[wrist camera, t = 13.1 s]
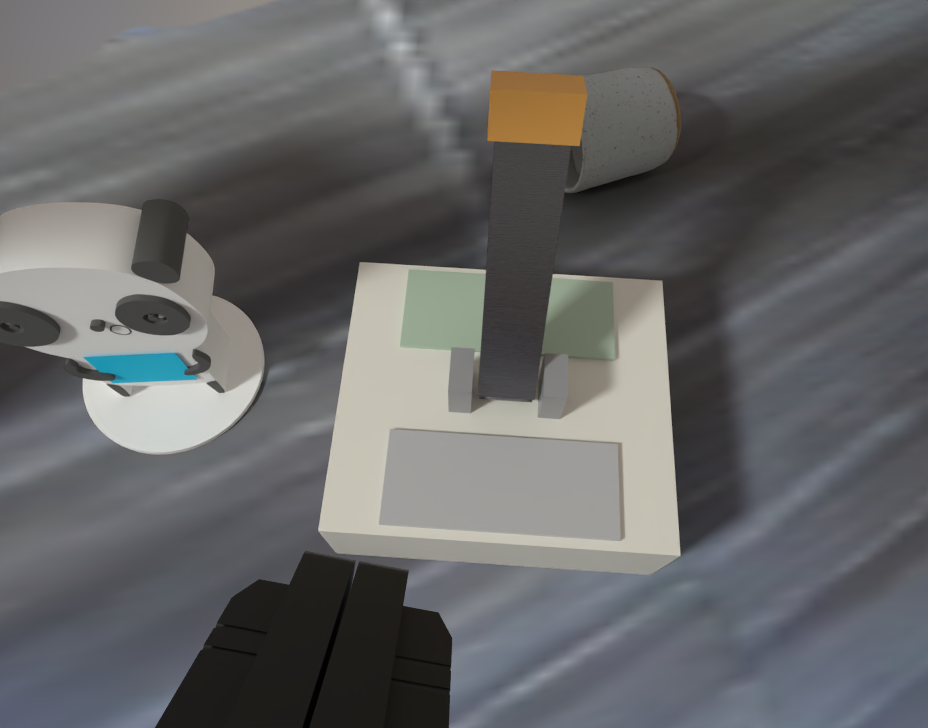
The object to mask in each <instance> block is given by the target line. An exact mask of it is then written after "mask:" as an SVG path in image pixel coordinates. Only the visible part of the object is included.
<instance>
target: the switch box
mask: <svg viewBox="0 0 928 728" xmlns="http://www.w3.org/2000/svg"><path fill="white" fill-rule="evenodd" d="M485 276H486V270H480V269H464V268H448V267H432V266H416V265H399V264H383V263H367V262H360V264H359V271H358V277H357V284H356V290H355V296H354V303H353V309H352V316H351V322H350V329H349V335H348V342H347V348H346V355H345V361H344V368H343V374H342V381H341V387H340V393H339V400H338V406H337V413H336V419H335V426H334V432H333V439H332V445H331V452H330V458H329V465H328V471H327V477H326V484H325V490H324V497H323V503H322V510H321V516H320V523H319V529H318V531H319V532H320V534H321V535H322V536H323V537H324V539H325V540H326V541H327V542H328V543H329V545H330V546H331V547H332V548H333V550H334V551H335V552H336V553H339V554H353V555H368V556H382V557H397V558H411V559H425V560H440V561H454V562H469V563H483V564H498V565H512V566H526V567H541V568H555V569H570V570H584V571H599V572H613V573H627V574H642V575H651V574H652V573H654V572H656V571H657V570H659V569H660V568H662V567H664V566H665V565H667V564H668V563H670V562H672V561H673V560H675V559H676V558H678V557H679V556H681V555H680V540H679V525H678V510H677V495H676V480H675V465H674V450H673V435H672V420H671V405H670V390H669V375H668V359H667V344H666V329H665V314H664V299H663V284H662V281H658V280H642V279H626V278H610V277H594V276H577V275H561V274H553V276H552V283H551V290H550V297H549V304H548V311H547V318H546V325H545V332H544V339H543V346H542V353H541V360H540V367H539V374H538V381H537V388H536V395H535V400H532V403H530V402H515V401H500V400H484V399H479V396H478V380H479V365H480V350H481V335H482V320H483V306H484V291H485Z"/></svg>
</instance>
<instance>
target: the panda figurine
mask: <svg viewBox="0 0 928 728" xmlns="http://www.w3.org/2000/svg"><path fill="white" fill-rule="evenodd" d="M188 221H189V217H188V215H187V213H186V212H185V210H184V209H183V208H182V207H181V206H179V205H178V204H176V203H174V202H172V201H168V200H149V201H146V202H145V203H144V204H143V207H142V210H139V209H136V208H131V207H127V206H121V205H114V204H104V203H83V202H62V203H47V204H38V205H32V206H26V207H21V208H17V209H13V210H10V211H8V212H5V213H4V214H2V215H1V216H0V343H3V344H6V345H11V346H23V347H27V348H30V349H33V350H36V351H40V352H43V353H47V354H51V355H56V356H60V357H65V358H67V359H66V361H65V366H64V369H65V370H66V372H68V373H69V374H71V375H74V376H77V377H80V378H83V396H84V401H85V404H86V408H87V410H88V413H89V415H90V417H91V418H92V420H93V422H94V423H95V424H96V426H97V427H98V428H99V429H100V430H101V431H102V432H103V433H104V434H105V435H106V436H108V437H109V438H110V439H112V440H113V441H114V442H116V443H118V444H120V445H121V446H123V447H126V448H128V449H131V450H134V451H137V452H142V453H148V454H172V453H178V452H184V451H187V450H191V449H194V448H197V447H199V446H202V445H204V444H206V443H208V442H210V441H212V440H214V439H216V438H217V437H219V436H220V435H222V434H223V433H225V432H226V431H227V430H228V429H230V428H231V427H232V426H233V425H234V424H235V423H236V422H237V421H238V420H239V419H240V418H241V417H242V416H243V415H244V414H245V412H246V411H247V410H248V408H249V407H250V405H251V404H252V402H253V400H254V399H255V397H256V395H257V393H258V390H259V388H260V385H261V382H262V378H263V374H264V365H265V357H264V349H263V344H262V341H261V338H260V336H259V334H258V331H257V329H256V328H255V326H254V324H253V323H252V321H251V320H250V319H249V318H248V316H247V315H246V314H245V313H244V312H243V311H241V310H240V309H239V308H238V307H236V306H235V305H233V304H232V303H230V302H228V301H226V300H224V299H222V298H219V297H216V296H213V295H212V293H213V285H214V277H215V268H214V264H213V261H212V259H211V258H210V256H209V255H208V253H207V252H206V251H205V250H204V248H203V247H202V246H201V245H200V244H199V243H198V242H197V241H196V240H195V239H194V238H192V237H191V236H190V235H189V234H188V233H187V228H188ZM70 358H71V359H70ZM74 360H75V361H74ZM78 363H79V364H80V365H81V366H83V367H84V368H83V367H80V366H78Z"/></svg>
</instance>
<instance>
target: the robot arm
mask: <svg viewBox="0 0 928 728" xmlns="http://www.w3.org/2000/svg"><path fill="white" fill-rule="evenodd" d="M354 569H355V560H351V559H346V558H341V557H335V556H330V555H325V554H320V553H314V552H309V551H305V552H304V554H303V556H302V558H301V560H300V563H299V565H298V567H297V569H296V571H295V573H294V576H293V578H292V580H291V582H290V584H289V585H287V584H282V583H276V582H271V581H266V580H260V579H259V580H257V581H256V582H254V583H253V584H251V585H250V586H248V587H247V588H245V589H244V590H242V591H241V592H239V593H238V594H236V595H235V596H233V597H232V598H231V600H230V601H229V603H228V605H227V607H226V608H225V610H224V612H223V613H222V615H221V617H220V618H219V620H218V622H217V625H216V628H214V629H213V630H212V632H211V634H210V635H209V637H208V639H207V640H206V642H205V644H204V648H203V650H201V651H200V652H199V654H198V656H197V657H196V659H195V661H194V663H193V664H192V666H191V668H190V669H189V671H188V673H187V674H186V676H185V678H184V679H183V681H182V683H181V685H180V686H179V688H178V690H177V691H176V693H175V695H174V696H173V698H172V700H171V701H170V703H169V705H168V707H167V708H166V710H165V712H164V713H163V715H162V717H161V718H160V720H159V722H158V724H157V725H156V727H155V728H449V707H450V695H449V693H450V681H451V671H450V669H451V655H452V637H451V635H450V633H449V631H448V630H447V628H446V626H445V624H444V622H443V620H442V618H441V617H440V615H439V613H438V612H433V611H427V610H422V609H417V608H411V607H406V606H403V602H404V596H405V590H406V584H407V578H408V571H409V570H405V569H400V568H395V567H389V566H384V565H379V564H373V563H368V562H363V561H359V564H358V567H357V570H356V574H355V577H354V580H353V575H354ZM352 581H353V584H352ZM351 586H352V587H351Z"/></svg>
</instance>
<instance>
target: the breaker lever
mask: <svg viewBox="0 0 928 728" xmlns="http://www.w3.org/2000/svg"><path fill="white" fill-rule="evenodd" d="M586 100H587V90H586V86H585V81H584V76H577V75H560V74H542V73H525V72H507V71H492V74H491V88H490V104H489V120H488V137H487V141H495V144H494V158H493V173H492V188H491V203H490V217H489V232H488V247H487V261H486V276H485V291H484V306H483V320H482V335H481V350H480V365H479V380H478V396H479V399H484V400H500V401H515V402H530V403H532V400H535V395H536V388H537V381H538V374H539V367H540V360H541V353H542V346H543V339H544V332H545V325H546V318H547V311H548V304H549V297H550V290H551V283H552V276H553V269H554V262H555V255H556V248H557V241H558V234H559V227H560V220H561V213H562V207H563V200H564V193H565V186H566V179H567V172H568V165H569V158H570V151H571V146H580V140H581V133H582V127H583V120H584V114H585V107H586Z"/></svg>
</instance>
